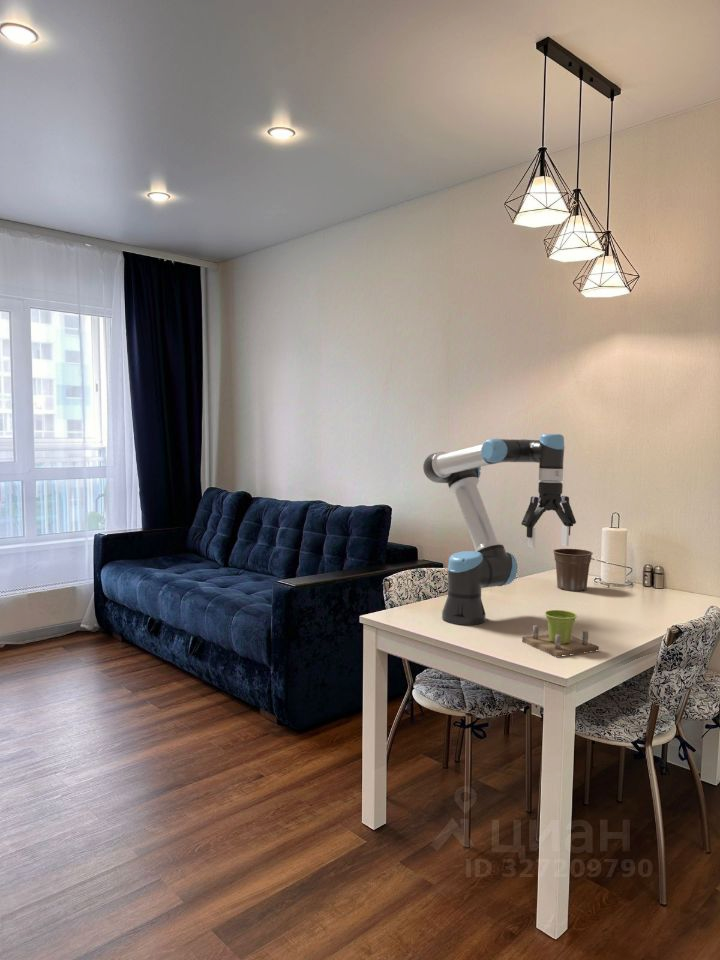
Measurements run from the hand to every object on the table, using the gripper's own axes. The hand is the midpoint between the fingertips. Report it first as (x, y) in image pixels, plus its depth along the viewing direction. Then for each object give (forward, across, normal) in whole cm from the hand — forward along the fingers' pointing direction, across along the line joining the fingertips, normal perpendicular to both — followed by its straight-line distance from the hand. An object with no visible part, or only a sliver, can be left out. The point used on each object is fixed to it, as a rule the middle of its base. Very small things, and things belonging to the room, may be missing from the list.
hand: (548, 546), depth 219 cm
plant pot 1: (+29, +56, +51) cm, 81 cm away
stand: (+29, -5, -13) cm, 32 cm away
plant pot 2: (+27, -5, -13) cm, 31 cm away
